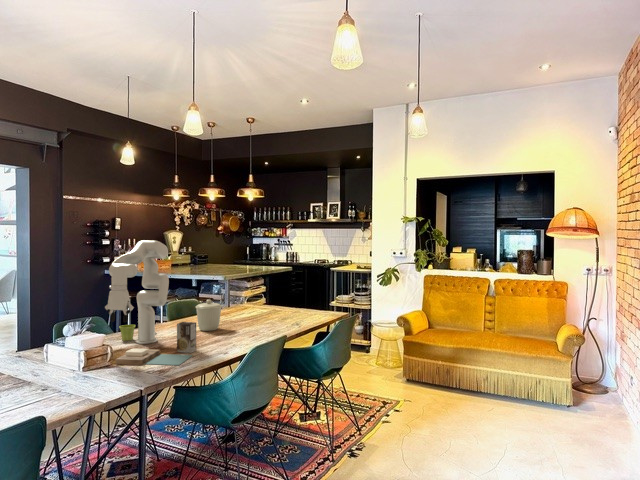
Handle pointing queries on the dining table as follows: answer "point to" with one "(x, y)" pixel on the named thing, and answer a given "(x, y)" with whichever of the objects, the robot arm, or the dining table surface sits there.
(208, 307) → the canister
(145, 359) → the walnut deck
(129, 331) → the plant pot
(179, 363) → the teal mat
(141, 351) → the tile
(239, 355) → the dining table surface
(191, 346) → the coffee box
